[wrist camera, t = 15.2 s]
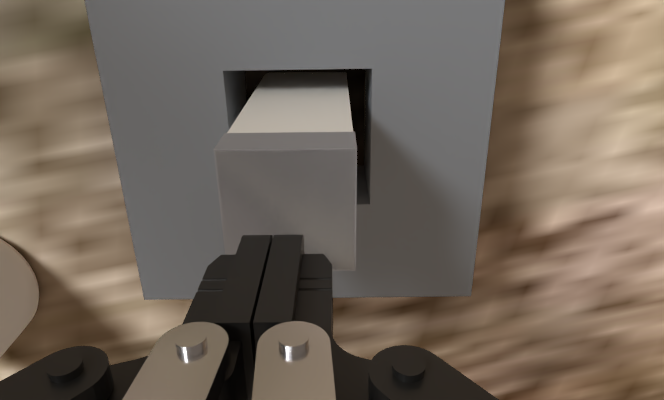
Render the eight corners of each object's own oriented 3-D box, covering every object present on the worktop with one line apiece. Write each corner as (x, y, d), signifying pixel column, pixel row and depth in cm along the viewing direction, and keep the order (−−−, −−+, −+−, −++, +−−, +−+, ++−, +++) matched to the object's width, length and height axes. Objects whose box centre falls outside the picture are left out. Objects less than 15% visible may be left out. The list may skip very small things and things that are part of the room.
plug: (265, 71, 26) (213, 149, 15) (347, 70, 26) (356, 148, 15) (269, 149, 27) (227, 271, 16) (347, 149, 27) (355, 270, 16)
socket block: (122, -61, 23) (70, -68, 19) (478, -67, 23) (513, -75, 18) (173, 248, 30) (144, 299, 25) (449, 245, 30) (470, 296, 25)
